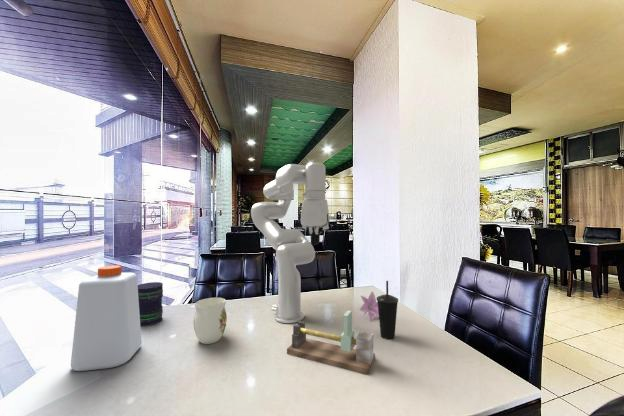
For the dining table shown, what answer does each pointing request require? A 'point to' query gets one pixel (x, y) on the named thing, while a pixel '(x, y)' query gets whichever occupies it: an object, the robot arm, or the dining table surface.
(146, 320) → the storage jar
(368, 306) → the lily
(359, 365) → the wooden rod slider stand
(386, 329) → the drinking cup
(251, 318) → the dining table surface
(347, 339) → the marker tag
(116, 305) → the plastic bottle
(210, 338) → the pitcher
